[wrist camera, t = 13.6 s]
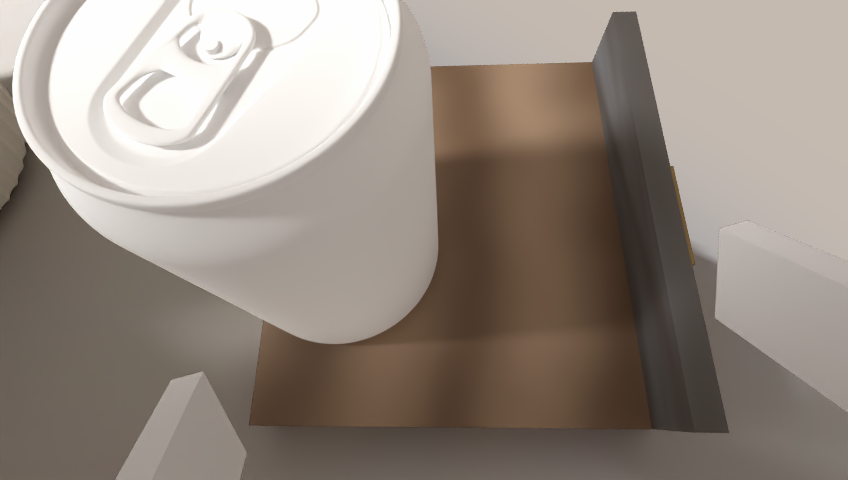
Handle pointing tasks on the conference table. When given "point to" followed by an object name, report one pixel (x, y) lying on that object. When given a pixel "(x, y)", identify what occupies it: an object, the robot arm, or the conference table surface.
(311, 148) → the beverage can
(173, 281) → the conference table surface
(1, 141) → the canister
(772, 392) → the conference table surface
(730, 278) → the robot arm
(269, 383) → the shelf board
